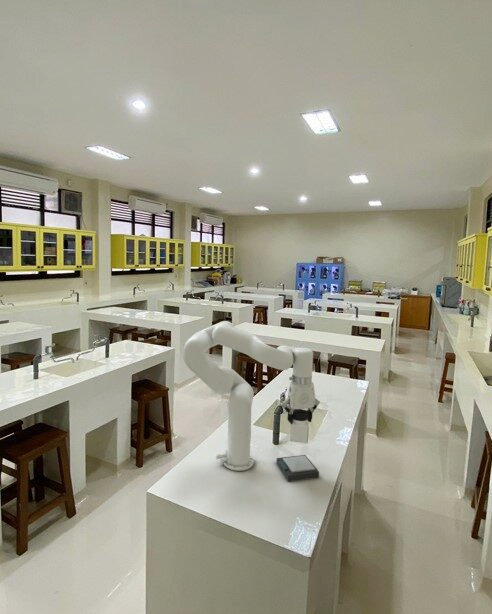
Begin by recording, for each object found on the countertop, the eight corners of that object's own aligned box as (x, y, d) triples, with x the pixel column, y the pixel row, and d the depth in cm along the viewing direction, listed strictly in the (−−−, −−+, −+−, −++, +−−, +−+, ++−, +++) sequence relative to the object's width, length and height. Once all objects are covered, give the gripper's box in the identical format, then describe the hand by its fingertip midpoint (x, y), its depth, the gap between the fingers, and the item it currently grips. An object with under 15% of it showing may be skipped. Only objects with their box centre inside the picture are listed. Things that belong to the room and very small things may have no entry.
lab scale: (287, 481, 145) (288, 474, 145) (276, 463, 158) (276, 456, 157) (318, 477, 148) (319, 470, 148) (305, 460, 161) (305, 453, 160)
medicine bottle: (307, 443, 148) (309, 414, 147) (289, 441, 150) (290, 412, 148) (307, 435, 155) (309, 407, 153) (290, 433, 156) (291, 405, 155)
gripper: (285, 383, 143) (282, 427, 146) (326, 381, 147) (323, 423, 150) (278, 377, 150) (276, 419, 153) (317, 375, 155) (315, 416, 157)
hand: (299, 421), depth 151 cm, fingers closed on medicine bottle, 7 cm apart
